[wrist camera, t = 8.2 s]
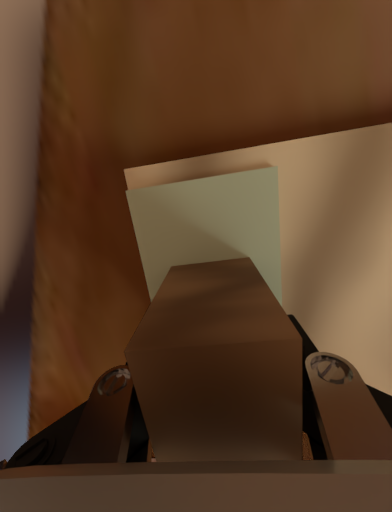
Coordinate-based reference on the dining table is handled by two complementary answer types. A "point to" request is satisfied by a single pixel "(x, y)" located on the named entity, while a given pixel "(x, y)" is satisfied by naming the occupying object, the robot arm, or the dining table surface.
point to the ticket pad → (323, 235)
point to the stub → (215, 322)
